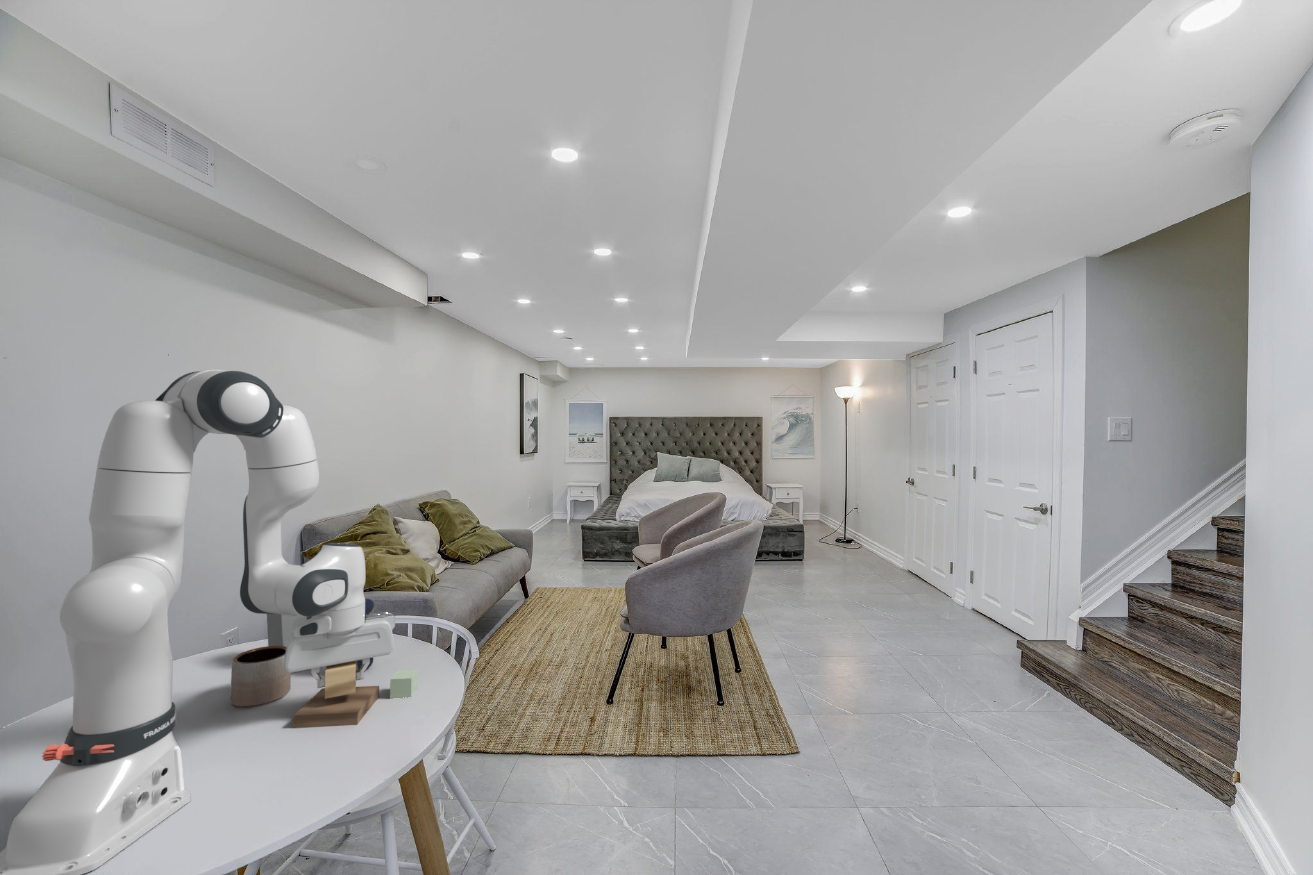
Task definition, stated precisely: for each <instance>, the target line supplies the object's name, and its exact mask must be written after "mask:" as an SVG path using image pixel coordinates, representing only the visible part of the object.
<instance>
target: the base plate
mask: <svg viewBox="0 0 1313 875" xmlns="http://www.w3.org/2000/svg"><path fill="white" fill-rule="evenodd" d="M378 697H380V685H370V686H369V685H367V686H365V685H364V686H356V691H355V693H352V694H346V695H341V696H336V697H331V698H326V699H325V687H322V688H321V689H320V690H319V691H318V692H317V693H316V694H315V695H314V696H312V697H311V698H310V700H308V701H307V702H306V703H305V704H304V705H303V706H302V707H301V708H300V709H299V710H298V711H297V712H296V713H294V715H293V729H299V728H317V727H333V726H334V727H335V726H352V725H354V726H355V725H358V724H359V723H360V722H361V720H362V719H363V718H364V717H365V715H366V714H367V713H368V712H367V711H369V710H371V708H372V707H373V705H374V704H375V702H376V701H377V700H378V699H379V698H378Z"/></svg>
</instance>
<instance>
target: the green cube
mask: <svg viewBox="0 0 1313 875" xmlns="http://www.w3.org/2000/svg"><path fill="white" fill-rule="evenodd" d="M389 686H390V687H389V690H390V691H389V699H390V700H394V699H393V698H400V699H409V698H408V697H411V698H413V696H412V695H414V694H415V693H416V691H417V690H418V669H411V670H409V669H408V670H407V669H406V670H396V672H395V673H394V674H393V675H392V677H391V678H390V685H389ZM414 692H415V693H414ZM403 697H404V698H403ZM405 697H407V698H405Z"/></svg>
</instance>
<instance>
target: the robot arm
mask: <svg viewBox="0 0 1313 875" xmlns="http://www.w3.org/2000/svg"><path fill="white" fill-rule="evenodd" d="M208 434H215V435H216V434H217V435H233V436H235V437H236V438H238V440H239V441H240V442H241V445H242V446H243V449H244V451H245V459H246V465H247V472H248V492H247V495H246V496H245V499H244V502H243V508H242V527H243V528H242V531H243V533H242V534H243V553H244V554H243V557H244V558H243V560H244V564H243V565H244V566H243V567H244V568H243V573H242V578H241V582H240V583H241V584H240V587H239V588H240V589H239V597H240V601H241V604H242V605H243V606H244V608H246V610H248V611H249V612H251V613H254V614H257V615H258V614H259V615H260V614H265V615H267V614H281V615H289V616H300V618H298V619H296V620H295V621H294V623H293V625H292V634H291V636H290V637H289V639H288V643H287V647H286V652H285V659H284V670H285V671H286V672H288V673H291V674H292V673H296V672H302V671H307V670H311V671H310V672H311V675H312V677H313V678H314V679H315V680H316V684H317V687H316V688H317V689H320V688H321V689H322V688H325V675H324V676H322V675H320V668H323V667H326V666H330V665H335V664H340V663H346V662H351V661H356V660H362V663H363V664H362V666H361V668H360V669H358V670H356V681H361V680H364V678H365V671H366V670H367V669H366V668H367V666H368V665H369V663H370V658H372V657H373V658H376V657H377V658H378V657H381V656H382V657H383V656H388V655H391V653H393V651H394V649H395V643H394V642H395V641H394V633H393V630H394V629H395V627H396V616H395V615H394V613H391V612H388V611H381V612H374V613H371V614H365V598H366V597H365V594H364V586H365V584H366V579H367V578H366V576H367V575H366V557H365V553H364V550H363V548H362V546H360V545H359V544H356V543H349V542H348V543H347V542H328V543H324V544H323V545H322V547H321V549H320V551H319V552H318V553H317V554H316V555H315V556H314V557H313V558H311V559H309V560H308V561H306V562H305V563H303V564H300V565H298V564H290V563H289V562H287V561H286V560H285V559H284V557H283V552H282V550H283V549H282V520H283V518H284V517H285V515H286V514H287V512H290V511H291V510H292V509H295V508H297V507H300V506H301V505H303V504H305V503H306V502H307V501H309V500H310V499H311V498H312V497H313V496H314V495H315V493H316V491H317V490H318V488H319V485H320V467H319V461H318V455H317V448H316V445H315V440H314V437H313V434H312V431H311V427H310V425H309V422H308V420H307V417H306V414H305V413H304V412H303V411H301V409H299V408H296V407H295V406H292V405H288V404H282V403H281V402H280V400H279V399H278V398H277V396H276V395H275V394H274V392H273V390H272V389H271V387H270V386H268V384H267V383H266V382H265V381H263V380H262V379H260V378H259V377H258V376H256V375H253V374H251V373H248V372H245V371H239V370H226V369H219V368H218V369H205V370H200V371H199V370H198V371H193V372H191V371H190V372H188V373H185V374H184V375H181V376H179V377H178V378H176V379H175V380H174V381H173V382H172V383H170V384H169V386H168V387H167V388H166V389H165V390H164V391H162V392H161V394H160V395H159V396H158V397H156V399H154V400H150V399H149V400H148V399H146V400H138V401H133V402H129V403H126V404H124V405H122V406H120V407H119V408H118V409H117V410H116V411H115V412H114V414H113V416H112V418H111V420H110V423H109V424H108V426H107V429H106V432H105V435H104V438H103V441H102V444H101V448H100V451H99V455H98V460H97V465H96V472H95V478H94V484H93V490H92V497H91V503H90V509H89V516H88V521H89V524H90V527H91V528H90V529H91V542H92V545H91V546H92V547H91V548H92V557H91V558H92V562H91V566H90V570H89V572H88V573H87V574H86V575H84V576H83V577H81V578H80V579H79V580H78V581H76V582H75V583H74V584H73V586H71V588H70V589H69V590H68V592H67V593H66V595H65V597H64V600H63V602H62V605H61V607H60V612H59V621H60V622H59V623H60V626H61V627H62V629H63V632H65V639H66V640H65V641H66V645H67V650H68V654H69V659H70V663H71V664H70V665H71V668H72V669H71V670H72V677H73V698H72V700H73V702H72V704H73V706H72V707H73V708H72V726H71V727H70V728H69V730H68V733H67V735H66V737H65V740H64V743H63V744H50V745H48V746H47V747H46V748H45V749H44V752H42V756H41V758H42V761H44V762H51V761H53V760H56V761H59V763H58V764H57V766H56V767H55V768H54V769H53V771H52V772H51V773H50V774H49V775H48V777H47V778H46V779H45V780H44V782H43V783H42V785H40V787H39V788H38V789H37V790H36V792H35V793H34V794H33V795H32V796H31V798H30V799H29V800H28V801H27V803H26V804H25V805H24V806H23V808H22V809H21V810H20V811H19V812H18V814H17V815H15V817H14V819H13V820H12V822H11V825H10V827H9V830H8V835H7V839H6V840H7V842H6V847H4V849H2V850H1V851H0V874H1V875H84V874H86V873H89V872H91V871H94V870H96V869H97V868H99V867H101V866H102V865H104V864H105V863H106V862H108V861H109V860H111V859H112V858H113V857H115V856H116V855H118V854H119V853H121V851H123V850H124V849H126V848H127V847H128V846H130V845H131V844H133V843H134V842H135V841H137V840H138V839H140V838H141V837H142V836H144V835H145V834H147V833H148V832H149V831H151V830H152V829H153V828H155V827H156V826H158V825H159V824H160V823H162V822H163V821H165V820H166V819H167V818H168V817H170V816H171V815H173V814H174V813H176V812H177V811H178V810H180V809H181V808H183V807H184V806H185V805H187V804H188V803H189V802H190V801H191V800H192V795H191V791H190V790H189V789H188V788H186V787H185V783H184V770H183V761H182V760H183V759H182V751H181V748H180V746H179V744H178V743H177V741H176V739H175V736H174V733H173V730H174V729H175V727H176V719H177V718H176V717H177V711H176V704H175V702H173V667H174V664H173V663H174V662H173V661H174V657H173V653H172V649H171V641H170V634H169V622H168V621H169V620H168V618H169V617H168V612H169V606H170V604H171V601H173V599H174V598H175V596H176V595H177V594H178V592H179V590H180V587H181V583H182V573H183V561H184V552H185V550H184V547H185V526H186V523H185V522H186V514H187V508H188V500H189V494H190V488H191V482H192V481H191V480H192V472H193V465H194V453H196V449H197V447H198V445H199V443H200V442H201V440H202V439H203V438H204V437H205V436H206V435H208Z"/></svg>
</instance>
